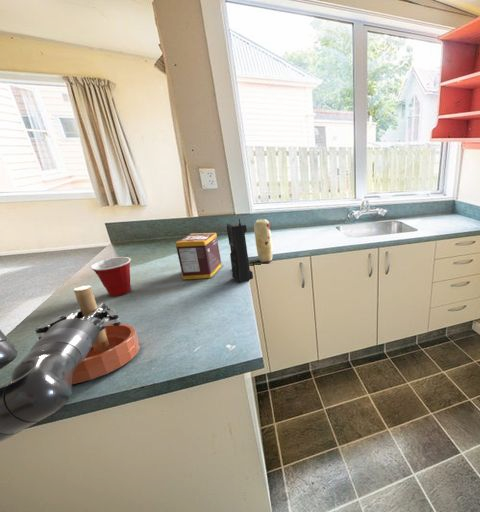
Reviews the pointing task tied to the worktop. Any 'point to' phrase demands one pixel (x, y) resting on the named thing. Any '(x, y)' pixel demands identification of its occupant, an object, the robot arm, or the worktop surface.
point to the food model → (263, 240)
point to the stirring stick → (87, 306)
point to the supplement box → (199, 255)
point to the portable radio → (239, 252)
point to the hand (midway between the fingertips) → (94, 308)
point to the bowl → (109, 354)
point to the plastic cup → (114, 274)
